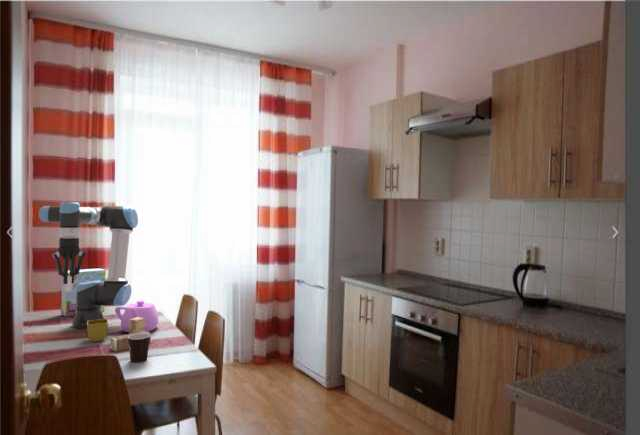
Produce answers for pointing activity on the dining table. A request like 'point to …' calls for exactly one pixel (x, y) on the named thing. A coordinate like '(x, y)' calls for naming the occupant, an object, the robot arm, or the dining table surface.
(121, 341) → the walnut block
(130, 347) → the coffee mug
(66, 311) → the snack box
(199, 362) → the dining table surface
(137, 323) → the oak block
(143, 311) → the teapot
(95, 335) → the flower pot
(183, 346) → the dining table surface
